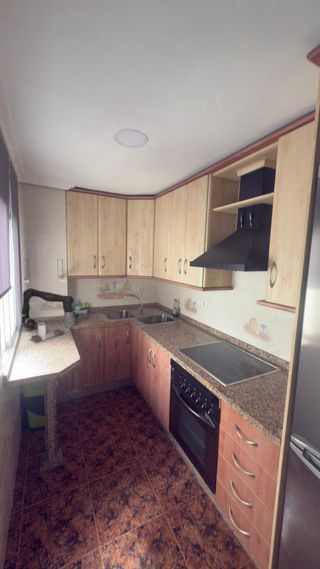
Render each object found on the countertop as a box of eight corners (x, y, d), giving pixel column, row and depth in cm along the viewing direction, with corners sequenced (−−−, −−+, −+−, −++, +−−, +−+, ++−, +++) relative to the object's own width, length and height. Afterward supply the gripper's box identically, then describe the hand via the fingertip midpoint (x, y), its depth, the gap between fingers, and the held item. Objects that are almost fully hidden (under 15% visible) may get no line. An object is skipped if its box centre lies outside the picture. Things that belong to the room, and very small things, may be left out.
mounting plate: (58, 332, 238) (58, 328, 238) (65, 335, 229) (65, 331, 229) (29, 340, 217) (29, 336, 216) (36, 344, 208) (35, 340, 207)
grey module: (43, 333, 235) (42, 321, 233) (45, 334, 232) (45, 322, 230) (38, 334, 231) (37, 323, 229) (40, 335, 228) (39, 324, 226)
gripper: (22, 320, 241) (29, 323, 231) (37, 317, 252) (43, 320, 242) (23, 327, 243) (29, 331, 232) (37, 323, 253) (44, 327, 243)
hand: (36, 325), depth 237 cm, fingers open, 8 cm apart
